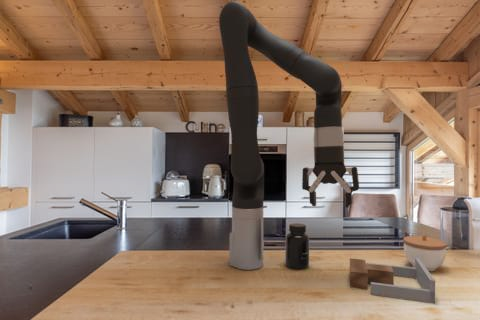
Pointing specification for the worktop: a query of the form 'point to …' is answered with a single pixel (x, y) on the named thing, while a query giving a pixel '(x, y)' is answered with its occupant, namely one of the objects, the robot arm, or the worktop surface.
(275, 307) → the worktop surface
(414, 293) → the grey fence
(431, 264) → the lidded jar
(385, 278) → the t block
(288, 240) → the supplement bottle
